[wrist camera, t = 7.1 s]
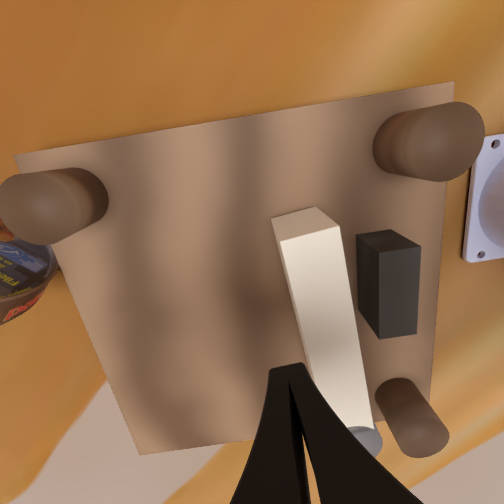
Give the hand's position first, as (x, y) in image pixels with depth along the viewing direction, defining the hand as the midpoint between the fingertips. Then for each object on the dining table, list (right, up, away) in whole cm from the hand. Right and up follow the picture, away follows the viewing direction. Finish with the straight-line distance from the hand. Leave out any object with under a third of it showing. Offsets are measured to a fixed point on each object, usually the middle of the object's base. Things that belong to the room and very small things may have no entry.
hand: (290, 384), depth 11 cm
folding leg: (+3, +1, +7) cm, 7 cm away
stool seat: (-1, +2, +9) cm, 9 cm away
